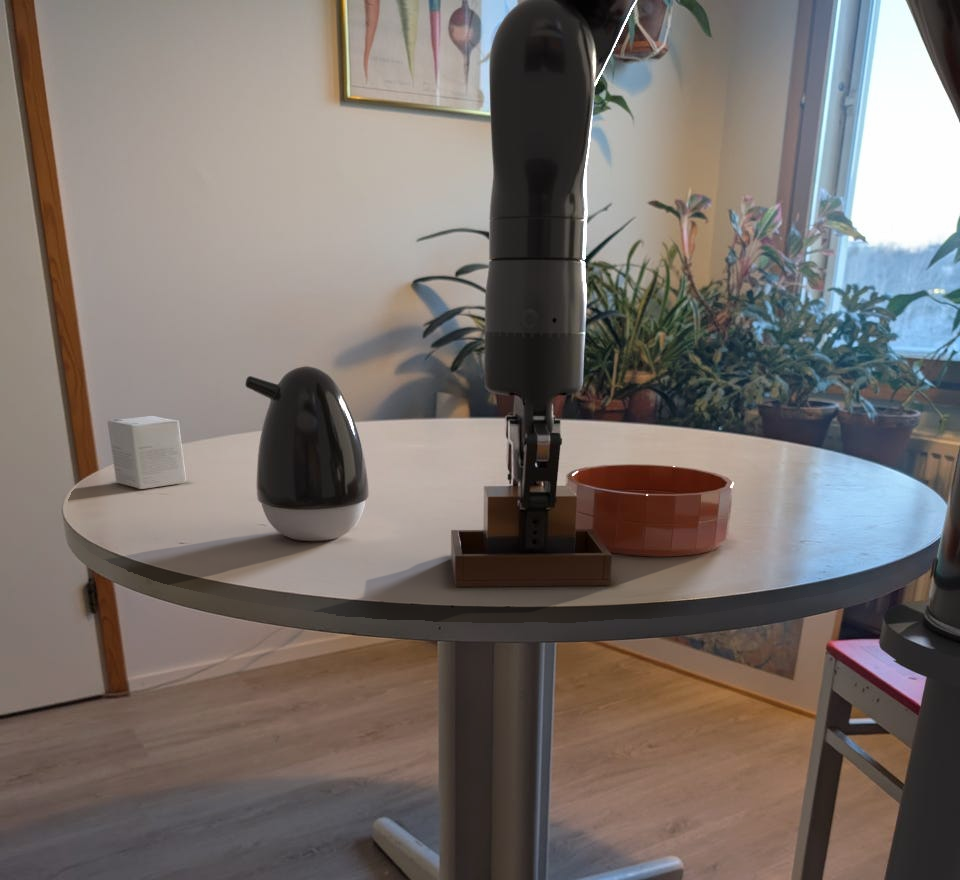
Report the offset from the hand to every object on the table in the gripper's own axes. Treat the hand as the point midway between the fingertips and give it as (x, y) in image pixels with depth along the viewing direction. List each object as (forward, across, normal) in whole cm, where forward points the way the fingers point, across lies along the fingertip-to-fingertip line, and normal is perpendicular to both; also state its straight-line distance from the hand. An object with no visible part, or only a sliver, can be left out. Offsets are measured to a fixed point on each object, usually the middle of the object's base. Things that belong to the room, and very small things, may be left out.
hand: (528, 547), depth 72 cm
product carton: (+2, +38, +40) cm, 55 cm away
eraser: (0, 0, 0) cm, 0 cm away
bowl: (+2, +11, -12) cm, 17 cm away
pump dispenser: (+2, +13, +19) cm, 23 cm away
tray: (+2, 0, 0) cm, 2 cm away
